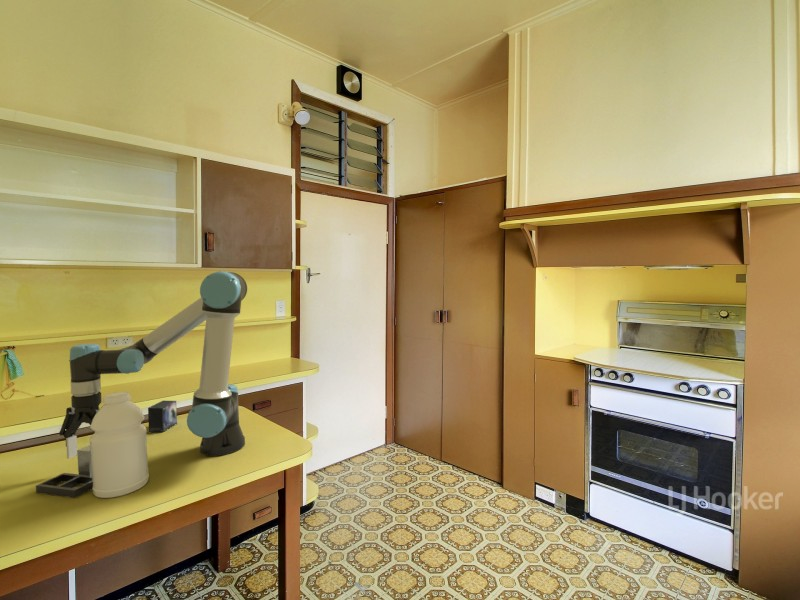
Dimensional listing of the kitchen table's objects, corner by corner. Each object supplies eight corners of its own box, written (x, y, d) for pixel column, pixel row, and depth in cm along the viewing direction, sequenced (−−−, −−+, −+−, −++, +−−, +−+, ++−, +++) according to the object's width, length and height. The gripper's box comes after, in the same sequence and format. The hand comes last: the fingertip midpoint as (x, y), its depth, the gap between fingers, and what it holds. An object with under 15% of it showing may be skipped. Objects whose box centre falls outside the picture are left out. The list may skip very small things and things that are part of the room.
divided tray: (101, 484, 123) (101, 477, 123) (74, 498, 115) (74, 490, 115) (64, 479, 126) (64, 472, 126) (36, 492, 118) (35, 485, 118)
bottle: (86, 503, 112) (79, 404, 111) (100, 481, 125) (94, 392, 123) (145, 492, 118) (139, 397, 116) (152, 471, 130) (148, 386, 129)
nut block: (103, 472, 130) (102, 445, 130) (90, 479, 126) (88, 451, 126) (92, 471, 131) (91, 444, 131) (78, 478, 127) (77, 450, 127)
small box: (163, 432, 164) (162, 407, 164) (147, 433, 165) (146, 407, 164) (178, 423, 175) (177, 399, 175) (163, 423, 175) (162, 400, 175)
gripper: (129, 392, 128) (131, 457, 129) (67, 387, 134) (70, 450, 135) (106, 399, 121) (109, 468, 122) (43, 393, 127) (46, 460, 128)
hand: (89, 458), depth 128 cm, fingers open, 13 cm apart
